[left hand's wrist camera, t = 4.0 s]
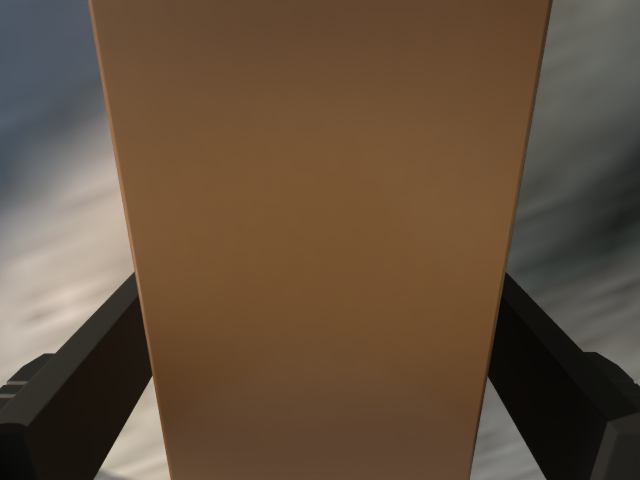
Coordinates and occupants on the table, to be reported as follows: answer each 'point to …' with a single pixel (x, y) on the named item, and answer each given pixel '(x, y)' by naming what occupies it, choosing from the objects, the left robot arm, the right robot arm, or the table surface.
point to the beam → (320, 222)
